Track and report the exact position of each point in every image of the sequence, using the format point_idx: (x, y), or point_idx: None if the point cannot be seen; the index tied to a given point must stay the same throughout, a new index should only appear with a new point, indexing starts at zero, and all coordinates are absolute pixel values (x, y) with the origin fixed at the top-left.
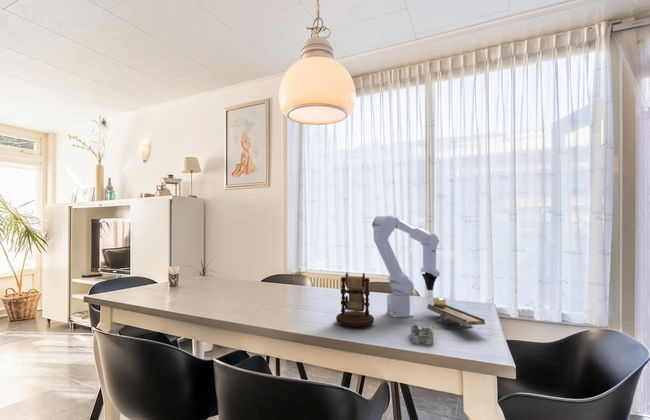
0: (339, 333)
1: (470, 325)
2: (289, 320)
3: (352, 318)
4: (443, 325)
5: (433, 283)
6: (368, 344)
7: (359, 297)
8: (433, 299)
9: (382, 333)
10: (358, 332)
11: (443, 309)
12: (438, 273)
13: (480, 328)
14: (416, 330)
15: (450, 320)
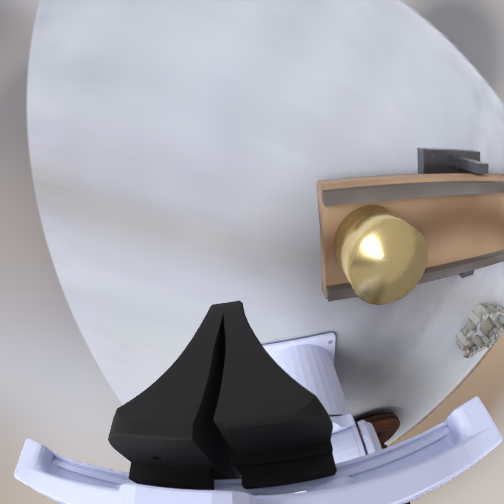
0: None
1: (479, 159)
2: None
3: (384, 441)
4: None
5: (256, 346)
6: (451, 392)
7: None
8: (380, 300)
9: (427, 387)
10: (404, 415)
11: (426, 243)
12: (488, 431)
13: (480, 126)
14: (462, 336)
15: None
